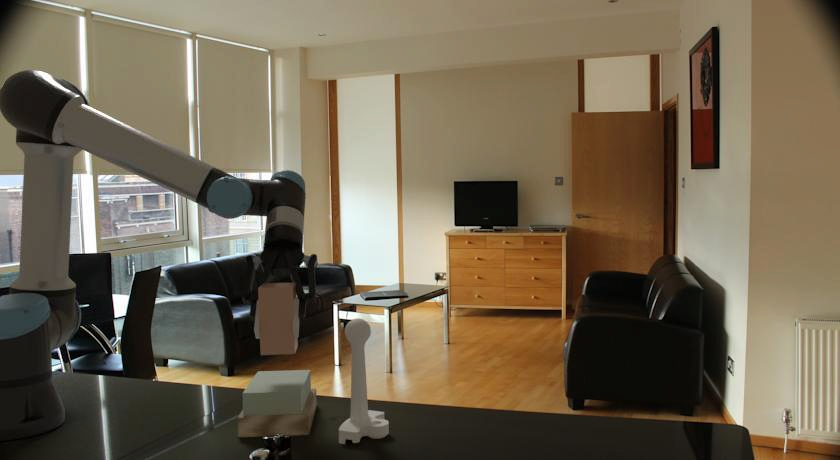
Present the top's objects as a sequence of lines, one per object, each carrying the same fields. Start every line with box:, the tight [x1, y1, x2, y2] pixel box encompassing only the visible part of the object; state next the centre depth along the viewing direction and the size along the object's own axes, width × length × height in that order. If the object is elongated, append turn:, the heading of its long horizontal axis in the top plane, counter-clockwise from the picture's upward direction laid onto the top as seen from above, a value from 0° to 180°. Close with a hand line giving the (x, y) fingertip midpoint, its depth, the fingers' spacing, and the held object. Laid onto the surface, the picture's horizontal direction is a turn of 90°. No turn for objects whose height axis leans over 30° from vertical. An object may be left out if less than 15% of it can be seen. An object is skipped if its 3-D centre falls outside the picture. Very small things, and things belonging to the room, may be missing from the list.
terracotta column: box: [258, 282, 299, 356], centre depth 127 cm, size 6×6×12 cm
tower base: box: [237, 388, 318, 438], centre depth 128 cm, size 12×16×4 cm
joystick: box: [338, 318, 390, 445], centre depth 120 cm, size 11×8×20 cm
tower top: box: [241, 369, 312, 416], centre depth 128 cm, size 10×14×4 cm
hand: (276, 333), depth 124 cm, fingers closed on terracotta column, 6 cm apart
